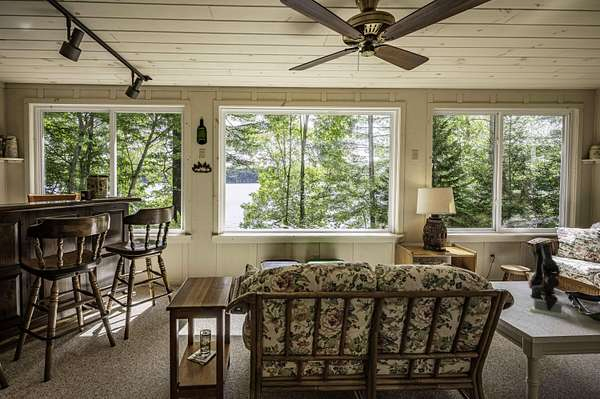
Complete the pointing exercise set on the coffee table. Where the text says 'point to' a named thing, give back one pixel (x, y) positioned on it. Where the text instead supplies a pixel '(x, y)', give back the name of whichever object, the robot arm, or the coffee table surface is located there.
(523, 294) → the coffee table surface
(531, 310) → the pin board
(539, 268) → the robot arm
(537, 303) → the panel
